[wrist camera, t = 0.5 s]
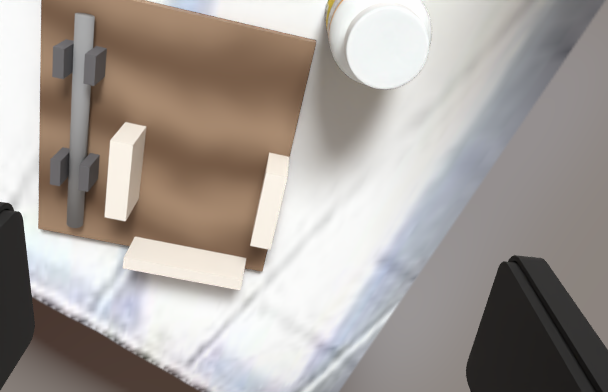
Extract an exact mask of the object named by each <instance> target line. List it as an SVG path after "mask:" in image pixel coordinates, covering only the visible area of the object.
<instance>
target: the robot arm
mask: <svg viewBox="0 0 608 392" xmlns="http://www.w3.org/2000/svg"><path fill="white" fill-rule="evenodd" d="M34 324H35V322H34V313H33V304H32V295H31V286H30V278H29V269H28V260H27V251H26V242H25V233H24V225H23V218H22V215H21V213H20V212H17V211H14V209H13V207H12V205H11V204H9V203H3V202H0V390H1V388H2V387H3V385H4V384H5V382H6V380H7V379H8V377H9V376H10V374H11V372H12V371H13V369H14V368H15V366H16V364H17V363H18V361H19V360H20V358H21V356H22V355H23V353H24V352H25V350H26V349H27V347H28V345H29V344H30V341H31V340H32V337H33V333H34V327H35V325H34ZM466 376H467V382H468V385H469V388H470V391H471V392H608V350H607V348H606V347H605V345H604V344H603V343H602V341H601V340H600V338H599V337H598V335H597V334H596V333H595V331H594V330H593V329H592V327H591V325H590V324H589V323H588V321H587V320H586V318H585V317H584V316H583V314H582V313H581V311H580V310H579V308H578V307H577V305H576V304H575V302H574V301H573V299H572V298H571V297H570V295H569V294H568V293H567V291H566V290H565V288H564V287H563V285H562V284H561V282H560V281H559V279H558V278H557V277H556V275H555V274H554V272H553V271H552V270H551V268H550V266H549V265H548V264H547V262H546V261H545V260H544V259H542V258H535V257H524V256H512V257H511V258H510V259H509V261H508V262H502V263H501V264H500V266H499V268H498V271H497V274H496V277H495V280H494V283H493V286H492V289H491V292H490V295H489V298H488V301H487V304H486V307H485V310H484V313H483V316H482V319H481V322H480V326H479V328H478V332H477V335H476V338H475V341H474V344H473V347H472V350H471V353H470V356H469V359H468V362H467V367H466Z"/></svg>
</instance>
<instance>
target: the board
mask: <svg viewBox="0 0 608 392" xmlns="http://www.w3.org/2000/svg"><path fill="white" fill-rule="evenodd" d="M75 13H87V14H91V15H93V16H95V21H94V39H93V48H94V47H96V46H99V47H103V48H107V53H106V68H105V77H104V78H103V79H102V80H101V81H99V82H98V83H97V84H96V85H95V86H92V85H91V93H90V111H89V129H88V147H87V156H88V155H89V154H90V153H93V154H98V155H100V158H99V173H98V179H97V181H96V182H95V183H94V185H93V186H92V187H91V189H90V190H89V191H88V192H86V191H85V201H84V219H83V226H82V227H79V228H71V227H68V226H67V199H68V177H67V179H66V180H65V181H64V182H63V183H62V184H61V185H60V186H56V185H51V184H50V159H51V158H52V157H53V156H54V155H55V154H56V153H57V152H58V151H59V150H60V149H61V148H62V147H64V148H69V149H70V124H71V99H72V73H71V74H70V75H68V76H67V77H66V78H64V79H60V78H55V77H52V68H53V46H55V45H57V44H59V43H60V42H62V41H64V40H66V39H68V40H72V41H74V23H75ZM315 45H316V40H312V39H308V38H304V37H299V36H295V35H291V34H286V33H282V32H278V31H274V30H269V29H265V28H261V27H256V26H252V25H248V24H244V23H239V22H235V21H231V20H226V19H222V18H218V17H214V16H209V15H205V14H201V13H196V12H192V11H188V10H184V9H179V8H175V7H171V6H166V5H162V4H158V3H154V2H149V1H145V0H41V74H40V149H39V223H38V229H43V230H49V231H54V232H59V233H64V234H69V235H75V236H80V237H85V238H90V239H96V240H101V241H106V242H111V243H116V244H122V245H127V246H130V245H131V243H132V241H133V239H134V237H140V238H145V239H150V240H156V241H161V242H166V243H171V244H176V245H181V246H187V247H192V248H197V249H202V250H207V251H212V252H217V253H223V254H228V255H233V256H238V257H243V258H246V264H245V268H246V269H252V270H257V271H263V267H264V262H265V258H266V254H267V250H268V249H264V248H259V247H254V246H250V244H251V238H252V232H253V227H254V221H255V216H256V212H257V207H258V203H259V198H260V193H261V189H262V184H263V179H264V175H265V170H266V166H267V161H268V156H269V153H274V154H278V155H283V156H288V157H289V156H290V152H291V147H292V143H293V139H294V135H295V130H296V126H297V122H298V118H299V113H300V109H301V105H302V101H303V96H304V92H305V88H306V84H307V79H308V75H309V71H310V67H311V62H312V58H313V54H314V50H315ZM125 122H128V123H132V124H137V125H142V126H146V135H145V145H144V154H143V164H142V173H141V183H140V192H139V199H138V201H137V203H136V204H135V206H134V208H133V210H132V211H131V213H130V215H129V217H128V218H127V220H126V221H121V220H116V219H111V218H106V217H105V204H106V190H107V177H108V164H109V150H110V140H111V139H112V138H113V136H114V135H115V134H116V133H117V132H118V130H119V129H120V128H121V127H122V126H123V124H124V123H125Z"/></svg>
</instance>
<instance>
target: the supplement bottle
mask: <svg viewBox="0 0 608 392" xmlns="http://www.w3.org/2000/svg"><path fill="white" fill-rule="evenodd" d="M325 18H326V27H327V33H328V39H329V45H330V49H331V52H332V55H333V58H334V60H335V62H336V63H337V65H338V66H339V68H340V69H341V70H342V71H343V72H344V73H345V74H346V75H347V76H348V77H350V78H351V79H353V80H355V81H356V82H359V83H361V84H364V85H367V86H369V87H372V88H376V89H383V90H386V89H394V88H398V87H401V86H403V85H405V84H407V83H408V82H410V81H411V80H413V79H414V78H415V77H416V76H417V75H418V74H419V72H420V71H421V70H422V68H423V66H424V65H425V62H426V60H427V57H428V52H429V47H430V44H431V38H432V26H431V20H430V16H429V13H428V11H427V9H426V7H425V5H424V4H423V2H422V1H421V0H328V2H327V6H326V13H325Z"/></svg>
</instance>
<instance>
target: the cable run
mask: <svg viewBox="0 0 608 392" xmlns="http://www.w3.org/2000/svg"><path fill="white" fill-rule="evenodd" d="M94 21H95V16H93V15H91V14H87V13H75V23H74V41H72V40H68V39H66V40H64V41H62V42H60V43H59V44H57V45H55V46H53V68H52V77H55V78H60V79H64V78H66V77H67V76H68V75H70V74H71V73H72V99H71V124H70V149H69V148H64V147H62V148H61V149H60V150H59V151H58V152H57V153H56V154H55V155H54V156H53V157H52V158H51V159H50V184H51V185H56V186H60V185H61V184H62V183H63V182H64V181H65V180H66V179H67V177H68V199H67V226H68V227H71V228H79V227H82V226H83V219H84V201H85V191H86V192H88V191H89V190H90V189H91V187H92V186H93V185H94V183H95V182H96V181H97V179H98V173H99V158H100V155H98V154H93V153H90V154H89V155H88V156H87V147H88V129H89V111H90V93H91V85H92V86H95V85H96V84H97V83H98V82H99V81H101V80H102V79H103V78H104V77H105V68H106V53H107V48H103V47H99V46H96V47H94V48H93V39H94Z"/></svg>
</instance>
